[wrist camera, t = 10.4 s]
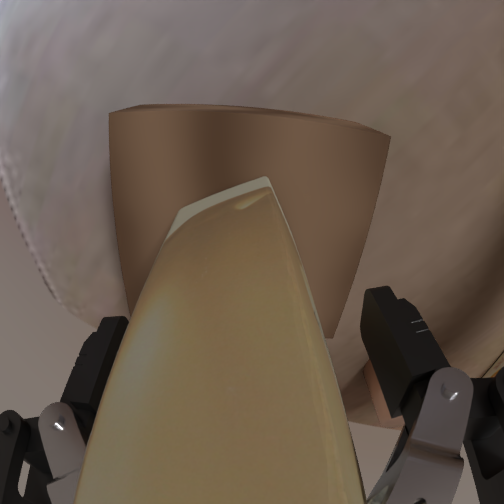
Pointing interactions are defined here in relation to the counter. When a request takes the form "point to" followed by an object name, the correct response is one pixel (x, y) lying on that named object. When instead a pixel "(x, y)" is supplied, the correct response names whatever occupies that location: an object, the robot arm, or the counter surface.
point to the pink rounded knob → (380, 399)
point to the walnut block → (244, 170)
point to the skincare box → (223, 373)
